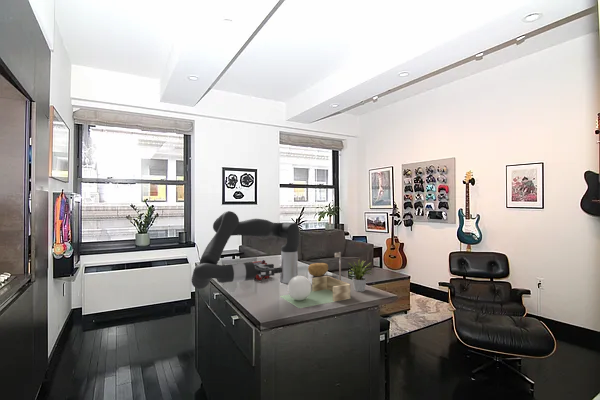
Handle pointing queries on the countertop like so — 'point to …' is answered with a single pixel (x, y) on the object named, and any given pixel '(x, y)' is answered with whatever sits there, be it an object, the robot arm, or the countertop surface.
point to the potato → (318, 269)
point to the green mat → (312, 299)
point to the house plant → (359, 276)
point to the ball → (299, 288)
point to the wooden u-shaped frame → (333, 284)
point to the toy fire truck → (260, 276)
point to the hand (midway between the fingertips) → (277, 268)
